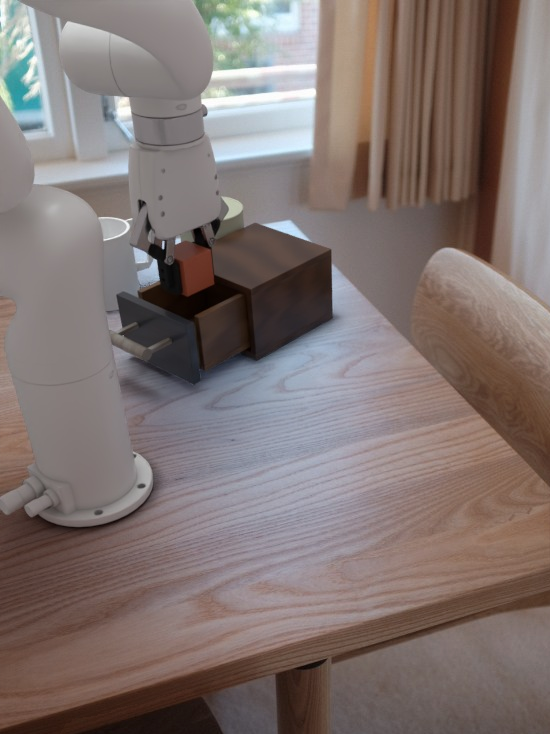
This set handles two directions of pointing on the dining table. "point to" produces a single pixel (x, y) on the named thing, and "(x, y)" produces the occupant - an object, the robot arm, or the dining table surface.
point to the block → (194, 267)
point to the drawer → (183, 328)
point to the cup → (120, 260)
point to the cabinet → (276, 283)
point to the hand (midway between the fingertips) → (188, 282)
